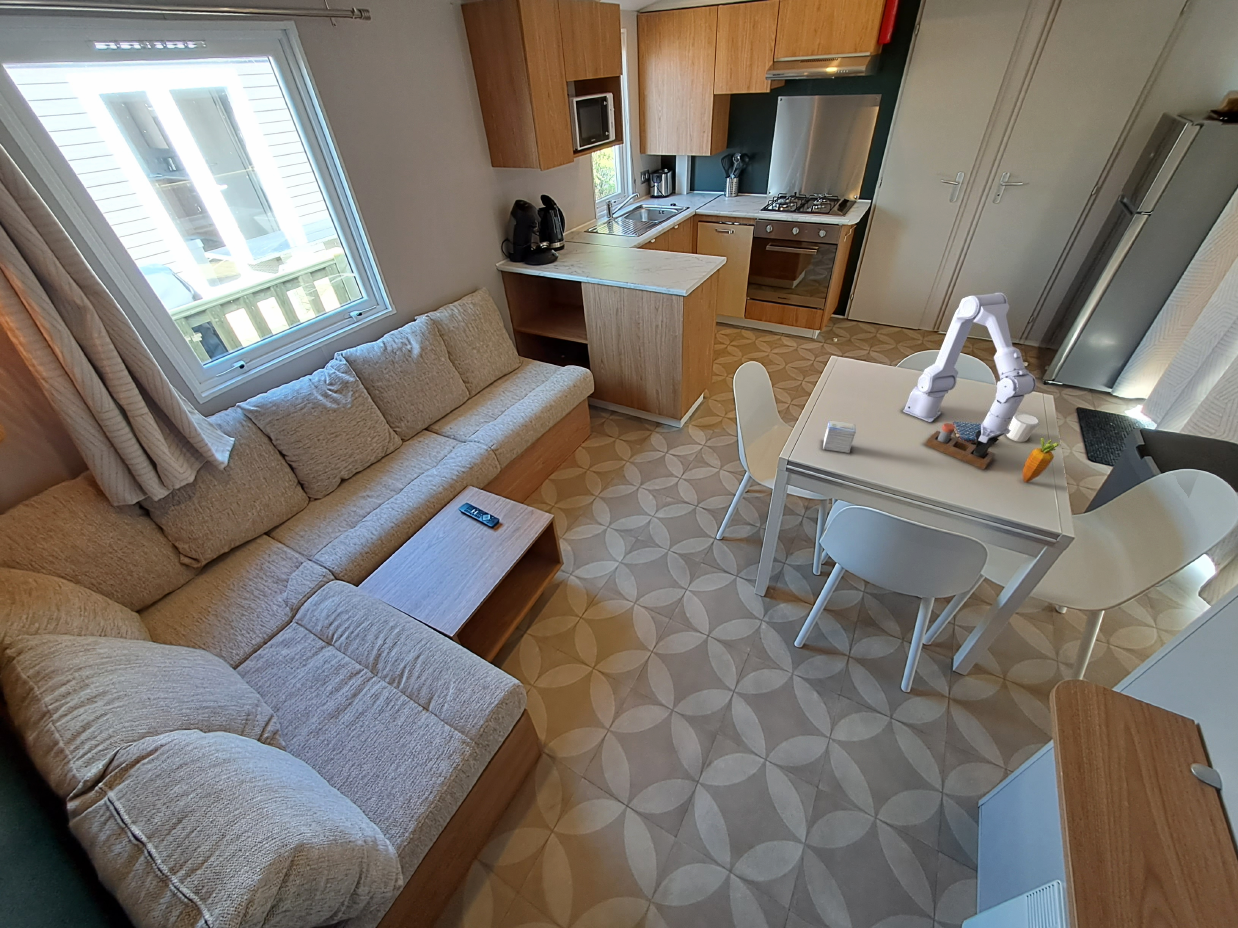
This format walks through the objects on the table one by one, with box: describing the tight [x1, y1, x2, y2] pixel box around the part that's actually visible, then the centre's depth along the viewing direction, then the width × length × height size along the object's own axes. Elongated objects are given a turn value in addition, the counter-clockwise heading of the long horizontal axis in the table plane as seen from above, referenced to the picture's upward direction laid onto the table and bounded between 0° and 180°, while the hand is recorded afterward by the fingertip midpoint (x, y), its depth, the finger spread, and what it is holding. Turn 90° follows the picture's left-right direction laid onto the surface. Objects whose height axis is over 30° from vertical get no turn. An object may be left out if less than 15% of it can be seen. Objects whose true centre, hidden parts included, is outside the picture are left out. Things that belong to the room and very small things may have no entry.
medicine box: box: [822, 420, 857, 454], centre depth 156 cm, size 8×4×9 cm, turn 71°
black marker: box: [972, 447, 990, 459], centre depth 148 cm, size 3×3×8 cm
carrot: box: [1022, 438, 1060, 483], centre depth 137 cm, size 5×5×15 cm
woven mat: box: [951, 420, 996, 446], centre depth 159 cm, size 10×11×2 cm
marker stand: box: [925, 430, 996, 470], centre depth 153 cm, size 17×7×2 cm, turn 41°
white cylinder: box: [1005, 412, 1041, 443], centre depth 156 cm, size 7×7×7 cm
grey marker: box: [937, 422, 955, 444], centre depth 154 cm, size 3×3×8 cm
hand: (981, 450), depth 148 cm, fingers closed on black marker, 3 cm apart
